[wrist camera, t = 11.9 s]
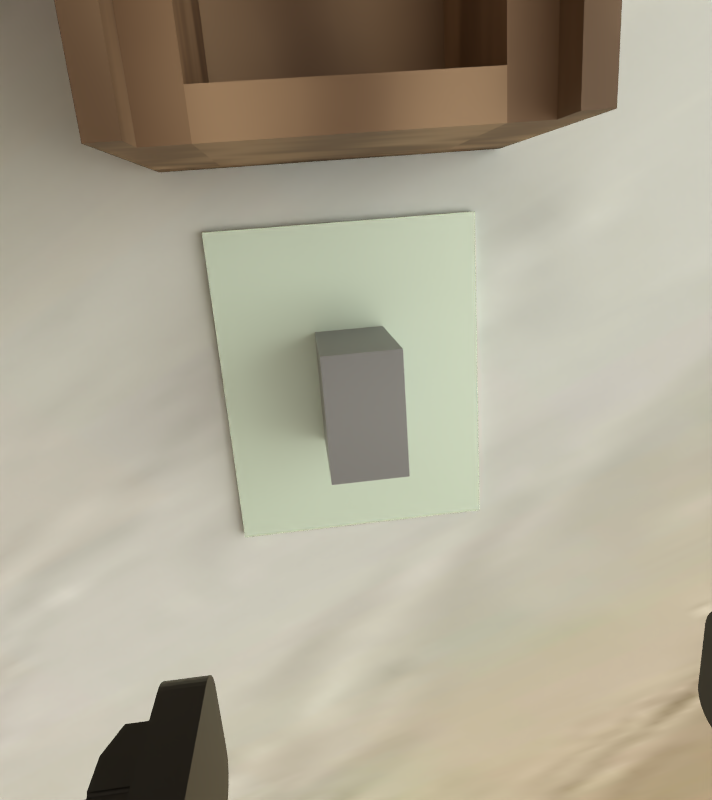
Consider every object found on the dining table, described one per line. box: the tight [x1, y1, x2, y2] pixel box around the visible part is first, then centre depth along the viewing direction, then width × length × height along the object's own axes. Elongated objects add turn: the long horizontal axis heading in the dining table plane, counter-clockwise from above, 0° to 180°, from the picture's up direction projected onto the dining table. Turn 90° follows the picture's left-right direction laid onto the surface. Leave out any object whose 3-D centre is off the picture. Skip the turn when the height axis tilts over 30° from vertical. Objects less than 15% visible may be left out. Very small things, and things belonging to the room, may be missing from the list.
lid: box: [202, 212, 479, 537], centre depth 25 cm, size 11×14×6 cm
